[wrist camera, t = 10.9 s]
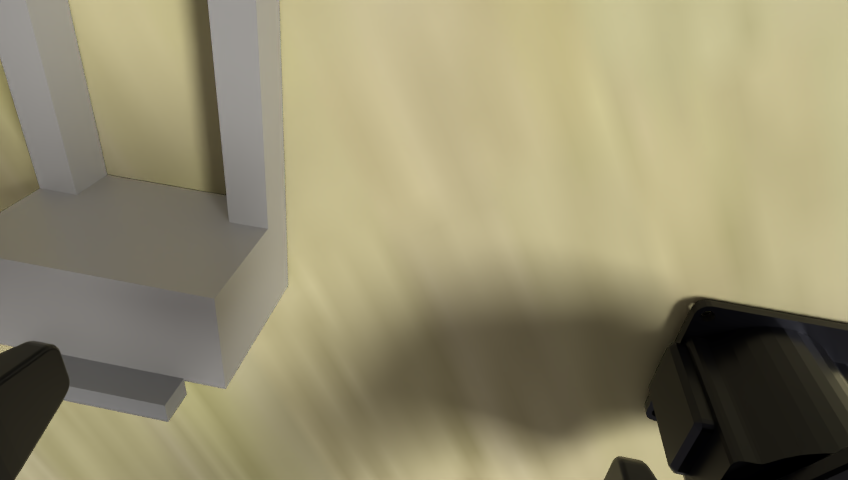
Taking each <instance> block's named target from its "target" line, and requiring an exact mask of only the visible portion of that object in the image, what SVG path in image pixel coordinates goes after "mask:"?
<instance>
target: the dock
mask: <svg viewBox="0 0 848 480" xmlns="http://www.w3.org/2000/svg"><path fill="white" fill-rule="evenodd" d="M208 10H209V20H210V31H211V41H212V51H213V62H214V72H215V82H216V93H217V103H218V113H219V123H220V134H221V144H222V154H223V165H224V175H225V185H226V195H220V194H214V193H209V192H203V191H197V190H191V189H186V188H180V187H174V186H169V185H163V184H157V183H151V182H146V181H140V180H134V179H128V178H123V177H117V176H111V175H107V171H106V167H105V163H104V158H103V154H102V149H101V145H100V140H99V136H98V132H97V127H96V123H95V118H94V114H93V109H92V105H91V101H90V96H89V92H88V87H87V83H86V78H85V74H84V69H83V65H82V61H81V56H80V52H79V47H78V43H77V38H76V34H75V30H74V25H73V21H72V16H71V12H70V7H69V3H68V0H0V59H1V62H2V65H3V68H4V72H5V75H6V78H7V82H8V85H9V88H10V91H11V95H12V98H13V101H14V105H15V108H16V111H17V114H18V118H19V121H20V124H21V128H22V131H23V134H24V137H25V141H26V144H27V147H28V151H29V154H30V157H31V161H32V164H33V167H34V170H35V174H36V177H37V180H38V184H39V187H40V189H38V190H36V191H35V192H33V193H31V194H30V195H28V196H26V197H25V198H23V199H21V200H20V201H18V202H16V203H15V204H13V205H11V206H10V207H8V208H6V209H5V210H3V211H1V212H0V344H3V345H8V346H13V347H16V346H18V345H20V344H22V343H25V342H28V341H38V342H43V343H48V344H53V345H55V346H57V347H58V348H59V350H60V352H61V355H62V358H63V361H64V364H65V366H66V369H67V372H68V375H69V379H70V385H69V389H68V392H67V394H66V396H65V398H64V399H63V400H65V401H70V402H74V403H79V404H84V405H89V406H94V407H99V408H104V409H108V410H113V411H118V412H123V413H128V414H133V415H138V416H143V417H147V418H152V419H157V420H162V421H167V422H168V421H169V420H170V418H171V417H172V415H173V414H174V413H175V411H176V410H177V408H178V407H179V405H180V404H181V402H182V401H183V399H184V398H185V396H186V395H187V394H186V388H185V383H184V381H188V382H193V383H198V384H203V385H208V386H213V387H218V388H223V389H226V388H227V386H228V384H229V383H230V381H231V379H232V378H233V376H234V374H235V373H236V371H237V369H238V368H239V366H240V364H241V363H242V361H243V360H244V358H245V356H246V355H247V353H248V351H249V350H250V348H251V346H252V345H253V343H254V341H255V340H256V338H257V336H258V335H259V333H260V331H261V330H262V328H263V326H264V325H265V323H266V321H267V320H268V318H269V316H270V315H271V313H272V312H273V310H274V308H275V307H276V305H277V303H278V302H279V300H280V298H281V297H282V295H283V293H284V292H285V290H286V288H287V287H288V265H287V232H286V200H285V168H284V136H283V103H282V71H281V39H280V7H279V0H208Z"/></svg>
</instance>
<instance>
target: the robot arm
mask: <svg viewBox="0 0 848 480" xmlns="http://www.w3.org/2000/svg"><path fill="white" fill-rule="evenodd" d="M706 311H711V312H710V313H709V314H707V315H701V314H702V313H704V312H706ZM69 385H70V379H69V375H68V372H67V369H66V366H65V364H64V361H63V358H62V355H61V352H60V350H59V348H58V347H57V346H55V345H53V344H48V343H43V342H38V341H28V342H25V343H22V344H20V345H18V346H16V347H14V348H11V349H9V350H7V351H5V352H2V353H0V480H15V478H16V477H17V475H18V473H19V472H20V470H21V469H22V467H23V466H24V464H25V462H26V461H27V459H28V457H29V456H30V454H31V452H32V451H33V449H34V448H35V446H36V444H37V443H38V441H39V439H40V438H41V436H42V434H43V433H44V431H45V429H46V428H47V426H48V424H49V423H50V421H51V419H52V418H53V416H54V414H55V413H56V411H57V409H58V408H59V406H60V404H61V403H62V401H63V399H64V398H65V396H66V394H67V392H68V389H69ZM649 392H650V394H649V396H648V398H647V400H646V402H645V406H644V408H645V412H646V415H647V417H648V418H649V419H651V420H654V421H657V423H658V427H659V431H660V435H661V439H662V442H663V446H664V450H665V454H666V458H667V462H668V465H669V467H670V468H671V470H672V471H673V472H674V473H676V474H681V475H683V477H684V480H848V324H843V323H838V322H832V321H826V320H821V319H815V318H809V317H804V316H798V315H792V314H787V313H781V312H775V311H770V310H764V309H759V308H753V307H747V306H742V305H736V304H730V303H725V302H719V301H713V300H701V301H698V302H697V303H695V304H694V305H693V306H692V308H691V310H690V312H689V314H688V316H687V318H686V320H685V322H684V324H683V326H682V328H681V330H680V332H679V334H678V336H677V338H676V341H675V342H674V343H672V344H671V345H669V346H668V347H667V350H666V352H665V354H664V356H663V358H662V360H661V362H660V364H659V366H658V368H657V370H656V372H655V375H654V377H653V379H652V381H651V383H650V385H649ZM604 480H657V479H656V477H655V476H654V474H653V473H652V471H651V470H650V468H649V467H648V466H647V465H646V464H645V463H644V462H643V461H640V460H637V459H631V458H626V457H621V456H618V457H616V458H615V459H614V460H613V462H612V464H611V466H610V468H609V470H608V472H607V474H606V476H605V479H604Z"/></svg>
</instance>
